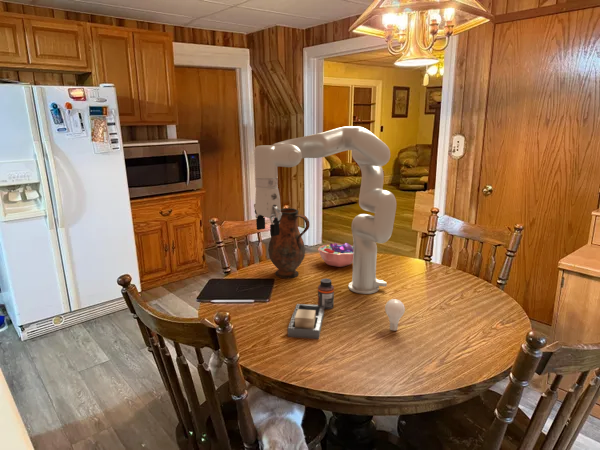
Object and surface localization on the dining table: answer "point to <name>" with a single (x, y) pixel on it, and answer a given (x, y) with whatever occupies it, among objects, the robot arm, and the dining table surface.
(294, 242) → the pitcher
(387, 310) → the lightbulb
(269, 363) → the dining table surface
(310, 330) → the tray
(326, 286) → the supplement bottle
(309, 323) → the birch block
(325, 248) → the cell model
